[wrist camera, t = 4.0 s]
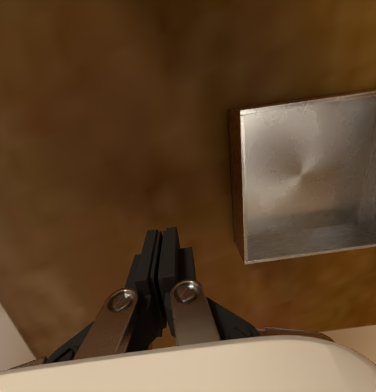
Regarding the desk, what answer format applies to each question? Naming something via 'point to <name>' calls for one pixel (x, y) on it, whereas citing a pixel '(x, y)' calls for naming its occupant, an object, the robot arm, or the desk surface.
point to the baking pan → (304, 176)
